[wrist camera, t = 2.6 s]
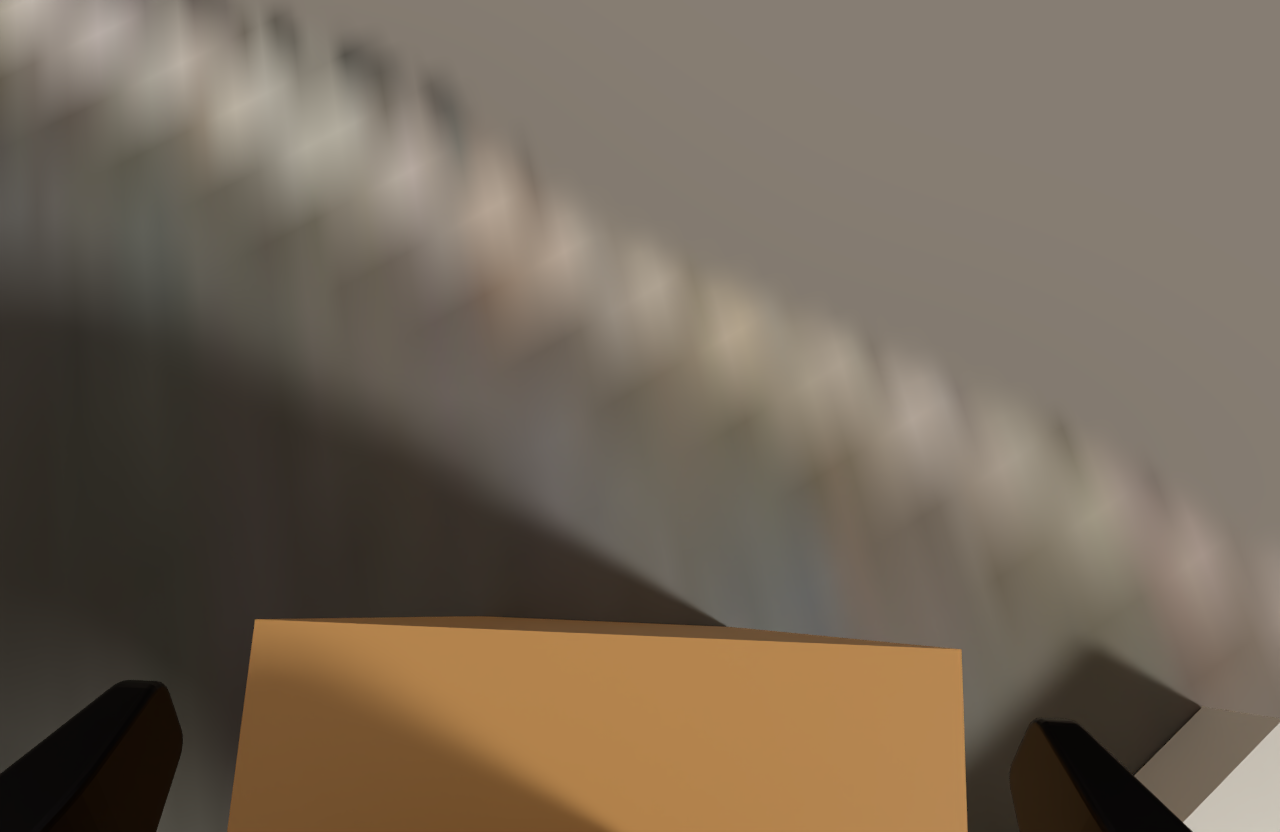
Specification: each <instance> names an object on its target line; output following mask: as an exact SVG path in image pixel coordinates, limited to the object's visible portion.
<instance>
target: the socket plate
mask: <svg viewBox="0 0 1280 832" xmlns="http://www.w3.org/2000/svg"><path fill="white" fill-rule="evenodd" d="M1134 776H1135V777H1136V778H1137V779H1138V780H1139V781H1140V782H1141V783H1142V784H1143V785H1144V786H1145V787H1146V788H1147V789H1148V790H1150V791H1151V792H1152V793H1153V794H1154V795H1155V796H1156V797H1157V798H1158V799H1159V800H1160V801H1161V802H1162V803H1163V804H1164V805H1165V806H1166V807H1167V808H1168V809H1170V810H1171V811H1172V812H1173V813H1174V814H1175V815H1176V816H1177V817H1178V818H1179V819H1180V820H1181V821H1182V822H1183V823H1184V824H1185V825H1186V826H1187V827H1188V828H1190V829H1191V830H1192V831H1193V832H1280V718H1274V717H1268V716H1261V715H1255V714H1248V713H1242V712H1235V711H1229V710H1222V709H1216V708H1209V707H1202V708H1201V709H1200V710H1199V711H1198V712H1197V713H1196V714H1195V715H1194V716H1193V717H1192V718H1191V719H1190V720H1189V721H1188V722H1187V723H1186V724H1185V725H1184V726H1183V727H1182V728H1181V729H1180V730H1179V731H1178V732H1177V733H1176V734H1175V735H1174V736H1173V737H1172V738H1171V739H1170V740H1169V741H1168V742H1167V743H1166V744H1165V745H1164V746H1163V747H1162V748H1161V749H1160V750H1159V751H1158V752H1157V753H1156V754H1155V755H1154V756H1153V757H1152V758H1151V759H1150V760H1149V761H1148V762H1147V763H1146V764H1145V765H1144V766H1143V767H1142V768H1141V769H1140V770H1139V771H1138V772H1137V773H1136V774H1135V775H1134Z"/></svg>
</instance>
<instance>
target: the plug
mask: <svg viewBox="0 0 1280 832" xmlns="http://www.w3.org/2000/svg"><path fill="white" fill-rule="evenodd" d="M227 832H968V830H967V800H966V770H965V741H964V711H963V681H962V652H961V649H952V648H942V647H931V646H921V645H911V644H900V643H890V642H880V641H869V640H859V639H849V638H839V637H828V636H818V635H808V634H797V633H787V632H777V631H766V630H756V629H746V628H735V627H722V626H698V625H675V624H652V623H629V622H606V621H583V620H559V619H536V618H513V617H490V616H455V617H382V618H310V619H255V624H254V631H253V639H252V647H251V654H250V662H249V670H248V677H247V685H246V692H245V700H244V708H243V715H242V723H241V730H240V738H239V746H238V753H237V761H236V768H235V776H234V784H233V791H232V799H231V807H230V814H229V822H228V829H227Z"/></svg>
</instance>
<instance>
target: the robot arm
mask: <svg viewBox="0 0 1280 832" xmlns="http://www.w3.org/2000/svg"><path fill="white" fill-rule="evenodd" d="M182 744H183V735H182V730H181V727H180V724H179V721H178V717H177V714H176V711H175V708H174V705H173V702H172V699H171V696H170V693H169V691H168V688H167V687H166V686H165V685H164V684H163V683H162V682H158V681H142V680H126V681H122V682H119V683H117V684H115V685H114V686H112V687H111V688H110V689H108V690H107V691H106V692H104V693H103V694H102V695H101V696H99V697H98V698H97V699H96V700H94V701H93V702H92V703H90V704H89V705H88V706H87V707H85V708H84V709H83V710H81V711H80V712H79V713H78V714H76V715H75V716H74V717H73V718H71V719H70V720H69V721H67V722H66V723H65V724H64V725H62V726H61V727H60V728H58V729H57V730H56V731H55V732H53V733H52V734H51V735H50V736H48V737H47V738H46V739H44V740H43V741H42V742H41V743H39V744H38V745H37V746H35V747H34V748H33V749H32V750H30V751H29V752H28V753H27V754H25V755H24V756H23V757H21V758H20V759H19V760H18V761H16V762H15V763H14V764H12V765H11V766H10V767H9V768H7V769H6V770H5V771H4V772H2V773H1V774H0V832H156V831H157V827H158V824H159V821H160V818H161V815H162V812H163V809H164V806H165V803H166V799H167V796H168V793H169V790H170V787H171V784H172V781H173V778H174V775H175V771H176V768H177V765H178V762H179V759H180V755H181V751H182ZM1009 779H1010V789H1011V794H1012V798H1013V803H1014V807H1015V812H1016V817H1017V821H1018V826H1019V831H1020V832H1193V831H1192V830H1191V829H1190V828H1188V827H1187V826H1186V825H1185V824H1184V823H1183V822H1182V821H1181V820H1180V819H1179V818H1178V817H1177V816H1176V815H1175V814H1174V813H1173V812H1172V811H1171V810H1170V809H1168V808H1167V807H1166V806H1165V805H1164V804H1163V803H1162V802H1161V801H1160V800H1159V799H1158V798H1157V797H1156V796H1155V795H1154V794H1153V793H1152V792H1151V791H1150V790H1148V789H1147V788H1146V787H1145V786H1144V785H1143V784H1142V783H1141V782H1140V781H1139V780H1138V779H1137V778H1136V777H1135V776H1134V775H1133V774H1132V773H1131V772H1130V771H1128V770H1127V769H1126V768H1125V767H1124V766H1123V765H1122V764H1121V763H1120V762H1119V761H1118V760H1117V759H1116V758H1115V757H1114V756H1113V755H1112V754H1111V753H1110V752H1108V751H1107V750H1106V749H1105V748H1104V747H1103V746H1102V745H1101V744H1100V743H1099V742H1098V741H1097V740H1096V739H1095V738H1094V737H1093V736H1092V735H1091V734H1090V733H1088V732H1087V731H1086V730H1085V729H1084V728H1083V727H1082V726H1081V725H1080V724H1078V723H1076V722H1075V721H1072V720H1069V719H1056V718H1036V719H1035V720H1034V721H1032V722H1031V723H1030V725H1029V726H1028V728H1027V731H1026V733H1025V735H1024V737H1023V739H1022V742H1021V744H1020V746H1019V748H1018V751H1017V753H1016V755H1015V757H1014V759H1013V762H1012V764H1011V768H1010V778H1009Z"/></svg>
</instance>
